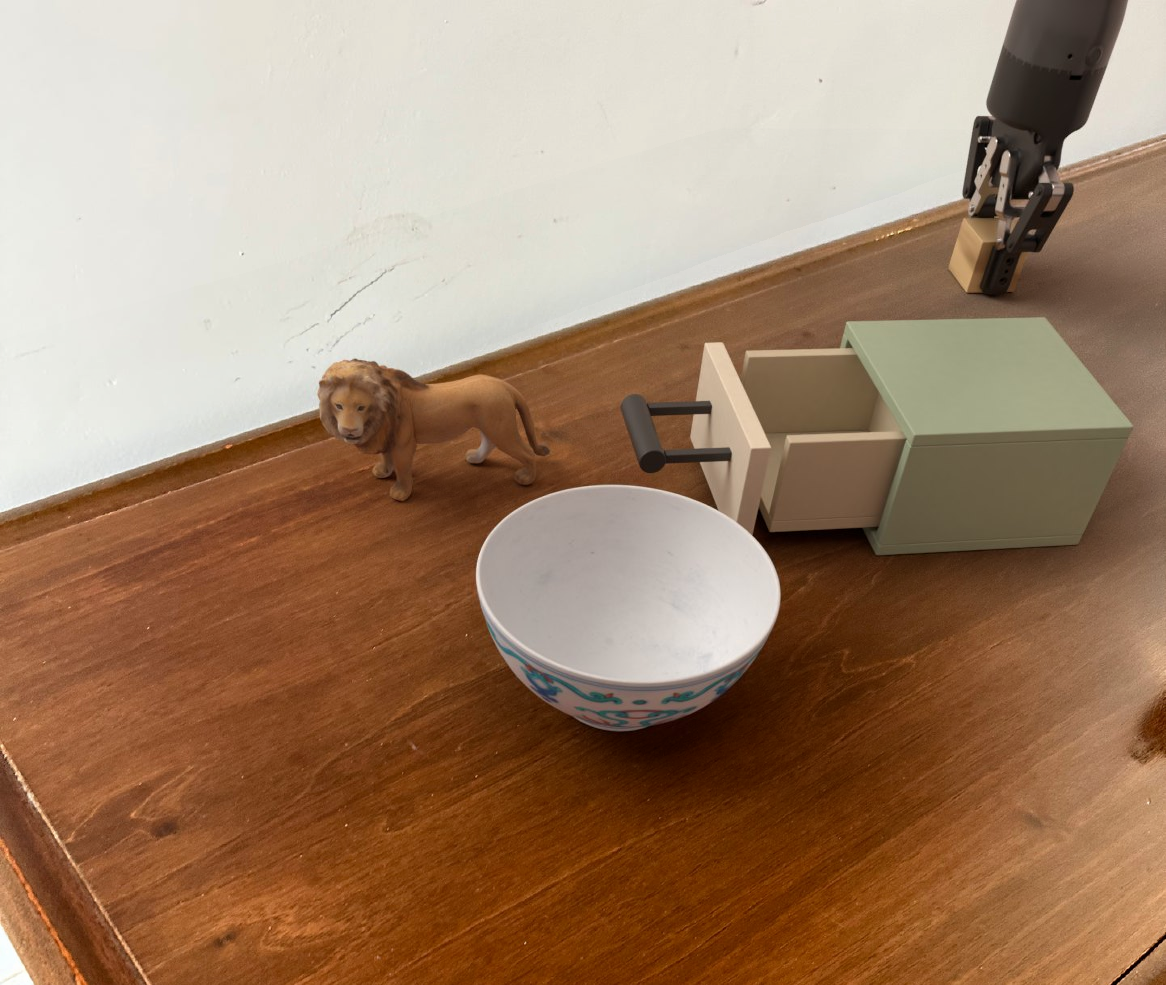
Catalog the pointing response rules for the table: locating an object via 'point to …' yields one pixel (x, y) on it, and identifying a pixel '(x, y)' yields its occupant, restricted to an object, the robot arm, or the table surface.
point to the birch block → (977, 253)
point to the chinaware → (626, 602)
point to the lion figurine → (422, 417)
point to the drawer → (782, 438)
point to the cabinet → (988, 433)
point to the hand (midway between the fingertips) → (981, 277)
